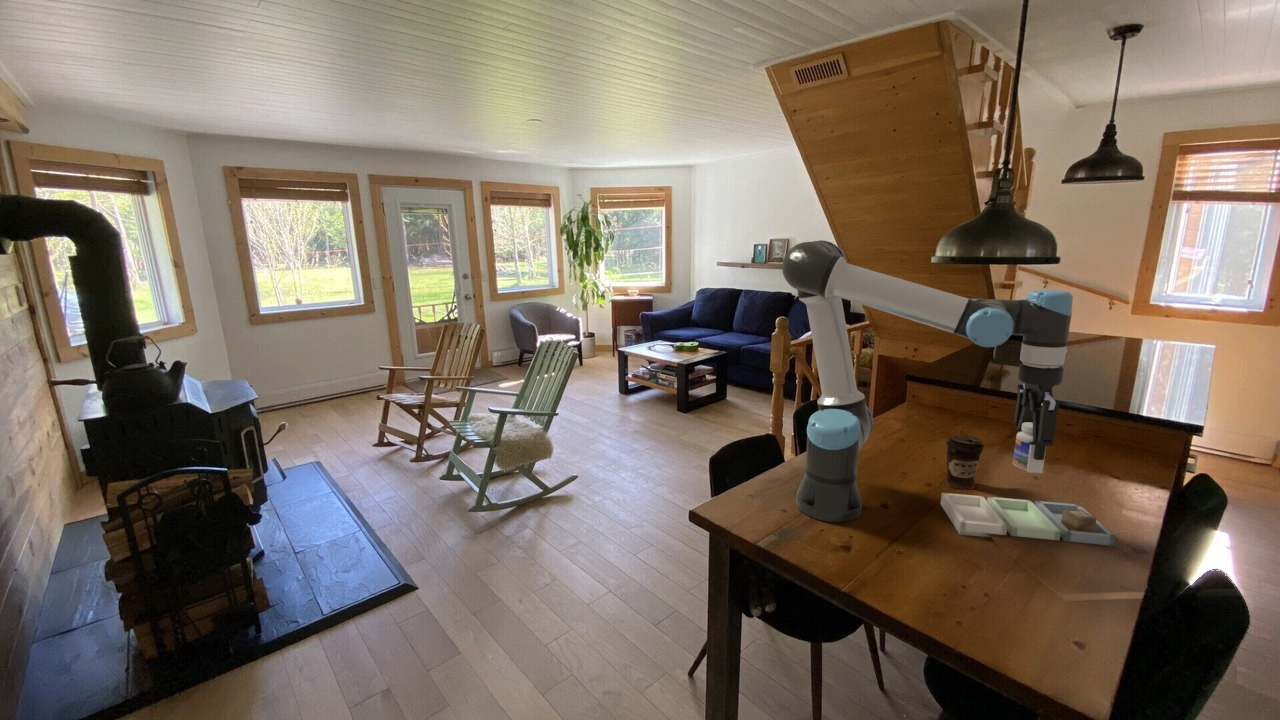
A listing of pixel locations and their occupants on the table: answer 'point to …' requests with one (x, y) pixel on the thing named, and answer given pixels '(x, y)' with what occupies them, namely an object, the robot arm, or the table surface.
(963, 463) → the coffee cup
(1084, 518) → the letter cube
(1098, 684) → the table surface
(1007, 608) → the table surface
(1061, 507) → the bin
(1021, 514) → the bin mid
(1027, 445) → the pill bottle
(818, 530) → the table surface
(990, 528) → the bin
